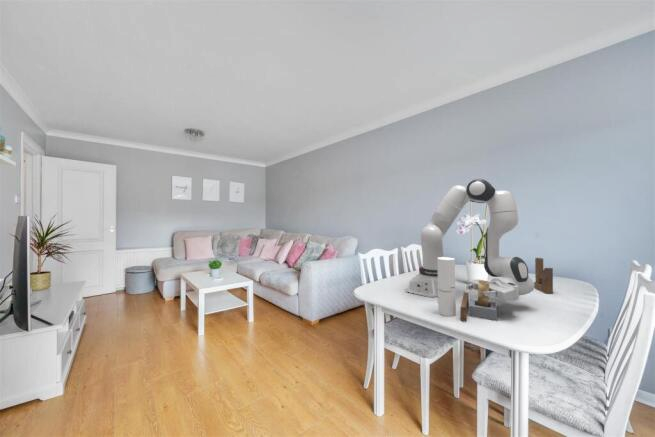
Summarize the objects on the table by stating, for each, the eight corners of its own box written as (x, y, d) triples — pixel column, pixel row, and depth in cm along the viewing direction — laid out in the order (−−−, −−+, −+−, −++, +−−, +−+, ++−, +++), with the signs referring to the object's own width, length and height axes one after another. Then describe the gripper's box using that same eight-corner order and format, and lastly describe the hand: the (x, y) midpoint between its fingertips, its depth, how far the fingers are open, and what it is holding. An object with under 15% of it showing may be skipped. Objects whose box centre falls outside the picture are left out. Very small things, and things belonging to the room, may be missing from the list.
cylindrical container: (459, 315, 110) (458, 259, 110) (446, 317, 108) (445, 260, 108) (447, 309, 117) (446, 256, 117) (434, 311, 115) (433, 257, 115)
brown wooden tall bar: (476, 312, 110) (478, 281, 110) (477, 310, 113) (479, 279, 113) (487, 315, 108) (488, 283, 108) (488, 312, 111) (489, 281, 111)
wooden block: (545, 293, 135) (545, 260, 135) (533, 287, 146) (533, 257, 145) (553, 294, 134) (553, 261, 134) (541, 288, 145) (540, 257, 144)
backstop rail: (460, 320, 104) (460, 306, 104) (464, 304, 123) (463, 292, 123) (466, 321, 103) (466, 307, 103) (468, 304, 122) (468, 292, 122)
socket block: (469, 317, 109) (469, 305, 109) (470, 309, 117) (470, 298, 117) (496, 321, 104) (496, 310, 103) (495, 313, 112) (495, 302, 112)
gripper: (481, 275, 124) (458, 277, 121) (522, 286, 104) (495, 290, 101) (481, 288, 124) (458, 290, 121) (522, 301, 105) (495, 305, 101)
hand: (475, 290), depth 111 cm, fingers open, 8 cm apart
